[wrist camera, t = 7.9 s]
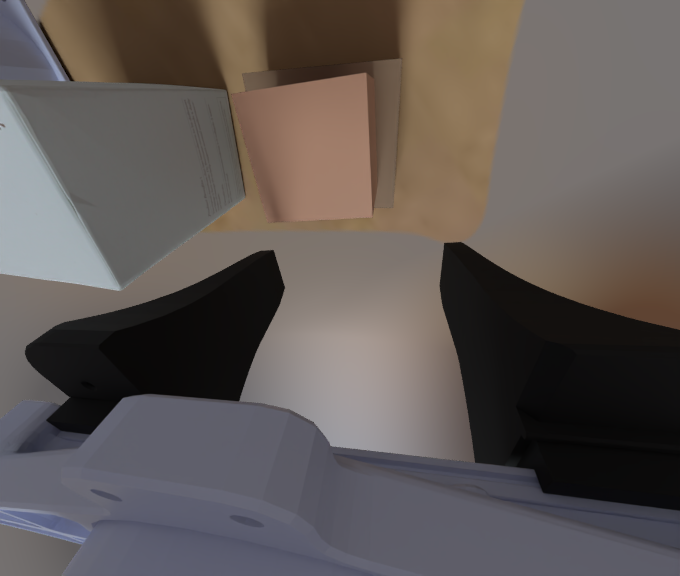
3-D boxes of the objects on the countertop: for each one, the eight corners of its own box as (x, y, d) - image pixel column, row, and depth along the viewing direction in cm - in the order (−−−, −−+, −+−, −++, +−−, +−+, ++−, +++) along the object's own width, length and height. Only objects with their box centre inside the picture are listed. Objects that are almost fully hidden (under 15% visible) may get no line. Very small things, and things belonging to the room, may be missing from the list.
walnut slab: (289, 191, 21) (271, 208, 18) (270, 77, 17) (242, 73, 13) (393, 189, 19) (393, 207, 16) (399, 65, 15) (402, 58, 12)
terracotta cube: (297, 191, 17) (267, 222, 13) (277, 94, 14) (231, 93, 10) (377, 185, 16) (372, 217, 12) (374, 79, 13) (366, 72, 9)
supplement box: (126, 81, 18) (-219, 64, 8) (230, 88, 17) (-2, 80, 7) (164, 192, 22) (-25, 273, 12) (247, 201, 22) (121, 296, 11)
